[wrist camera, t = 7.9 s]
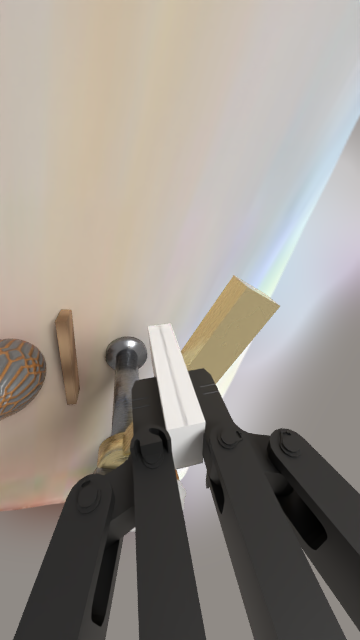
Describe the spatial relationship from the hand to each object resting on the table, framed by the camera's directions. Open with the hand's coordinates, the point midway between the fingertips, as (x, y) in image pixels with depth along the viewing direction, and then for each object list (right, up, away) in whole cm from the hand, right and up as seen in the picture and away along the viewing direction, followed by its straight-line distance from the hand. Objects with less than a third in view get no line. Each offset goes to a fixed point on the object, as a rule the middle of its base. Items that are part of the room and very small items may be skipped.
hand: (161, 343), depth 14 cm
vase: (-17, -2, +12) cm, 21 cm away
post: (-6, -3, +15) cm, 16 cm away
